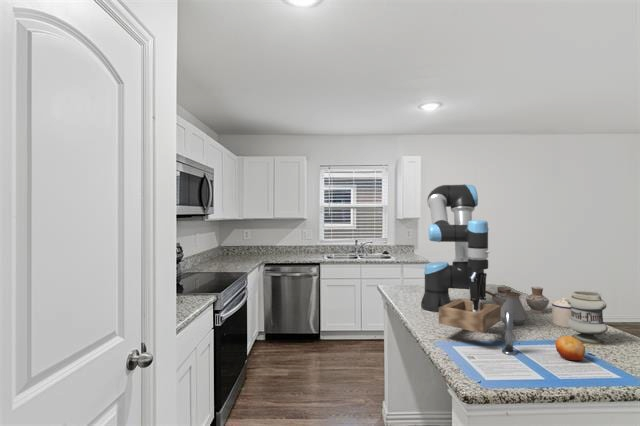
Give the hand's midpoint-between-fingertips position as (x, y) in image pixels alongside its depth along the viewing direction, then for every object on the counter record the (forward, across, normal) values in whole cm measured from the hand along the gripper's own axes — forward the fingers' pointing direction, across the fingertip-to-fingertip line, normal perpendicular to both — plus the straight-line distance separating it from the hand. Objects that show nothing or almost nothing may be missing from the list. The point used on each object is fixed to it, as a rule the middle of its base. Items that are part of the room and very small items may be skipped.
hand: (478, 316), depth 141 cm
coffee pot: (+7, +22, -2) cm, 24 cm away
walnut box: (0, -8, 0) cm, 9 cm away
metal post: (+7, -14, -15) cm, 22 cm away
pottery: (+7, +50, -3) cm, 50 cm away
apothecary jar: (+7, +20, -33) cm, 39 cm away
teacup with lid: (+7, +38, -23) cm, 45 cm away
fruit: (+7, -6, -31) cm, 32 cm away
